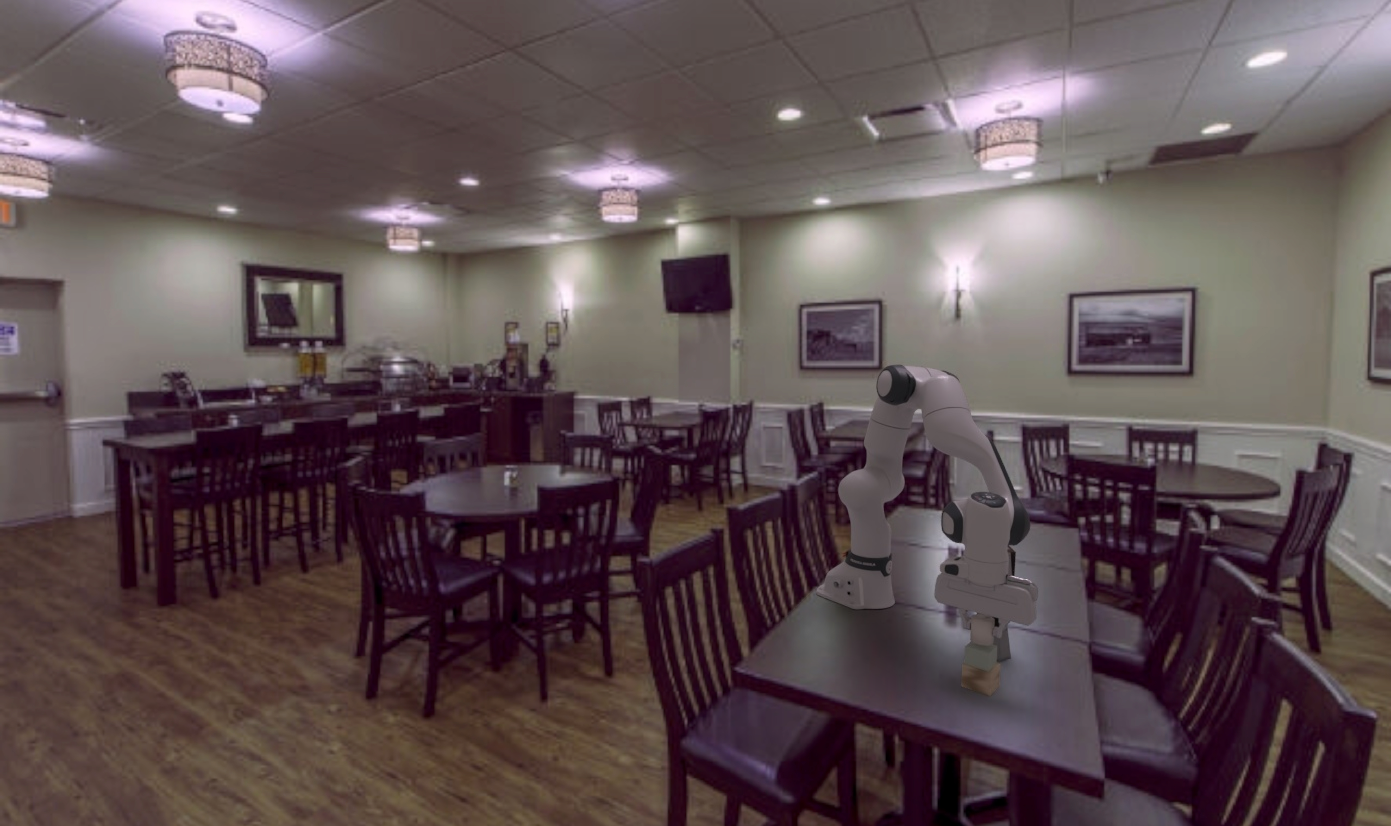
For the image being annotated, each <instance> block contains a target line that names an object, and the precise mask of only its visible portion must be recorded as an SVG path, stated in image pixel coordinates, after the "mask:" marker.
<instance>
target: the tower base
mask: <svg viewBox="0 0 1391 826" xmlns="http://www.w3.org/2000/svg"><path fill="white" fill-rule="evenodd" d="M1001 664H1002V663H999V662H997V664H996V665H995V666H994V667H993V668H992V669H991V670H990V671H989V672H987V671H984V670H981V669H978V668H975V667H972V666H968V665H965V664H964V662H963V663H962V664H961V681H960V682H961V683H960V684H961V685H960V686H963V687H962V688H964V687H965V689H967V688H968V690H970V689H971V691H974V692H976V693H979V694H981V695H986V696H989V697H991V696H992V695H993V694H994V692H995V691H996V690H997V689H998V688H999V687H1000V686H1001V684H1000V680H1001Z"/></svg>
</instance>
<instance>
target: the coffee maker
mask: <svg viewBox="0 0 1391 826" xmlns="http://www.w3.org/2000/svg"><path fill="white" fill-rule="evenodd" d="M976 614H980V613H976ZM983 615H984V614H983ZM990 617H992V616H990ZM992 618H994V620H995V624H994V627H999V626H1000V625H1001V623H999V618H996V617H992ZM1010 623H1011V621H1009V622H1008V623H1007V624H1006V626H1005V627H1004V628H1003V629H1002V637H1001V638H996V637H994V643H993V645H997V662H1003V661H1007V660H1011V659H1012V655H1011V648H1010V647H1011V646H1010V638H1009V630H1008V627H1009V626H1008V624H1010Z"/></svg>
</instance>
